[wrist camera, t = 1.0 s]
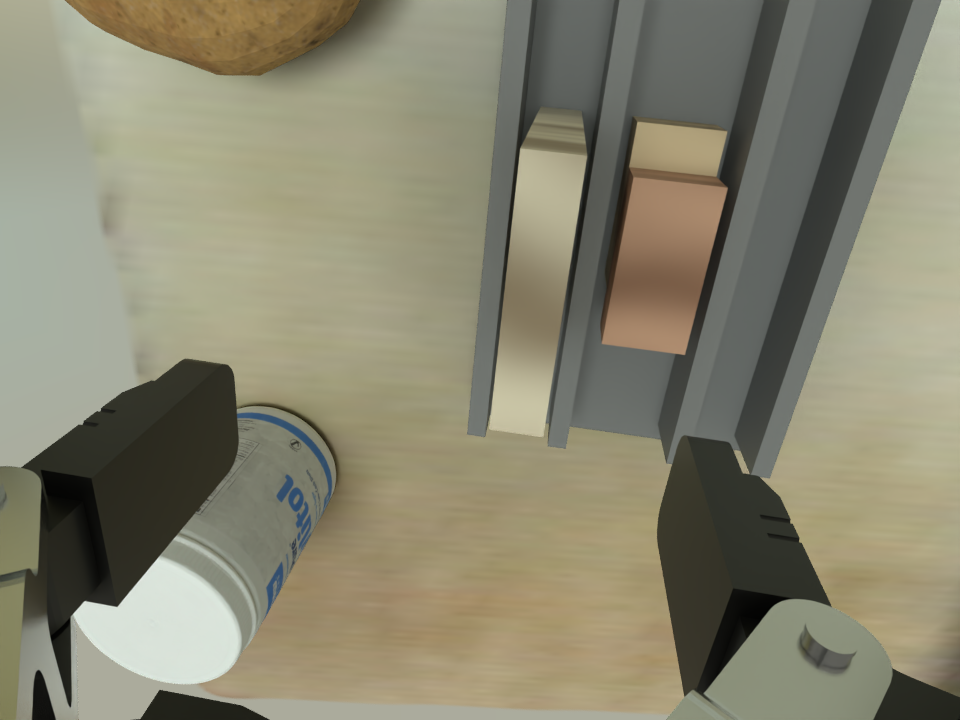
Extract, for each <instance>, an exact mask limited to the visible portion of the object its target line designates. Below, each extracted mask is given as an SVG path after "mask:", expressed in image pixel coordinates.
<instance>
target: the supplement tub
mask: <svg viewBox="0 0 960 720" xmlns="http://www.w3.org/2000/svg"><path fill="white" fill-rule="evenodd" d="M237 421H238V434H239V445H238V451H237V456H236V459H235V462H234V464H233V466H232V468H231V470H230V472H229V473H228V474H227V475H226V477H225V478H224V479H223V480H222V481H221V483H220V484H219V485H218V486H217V487H216V489H215V490H214V491H213V492H212V494H211V495H210V496H209V497H208V498H207V500H206V501H205V502H204V503H203V504H202V506H201V507H200V508H199V509H198V510H197V512H196V513H195V514H194V515H193V516H192V518H191V519H190V520H189V521H188V522H187V524H186V525H185V526H184V527H183V528H182V530H181V531H180V532H179V533H178V534H177V536H176V537H175V538H174V539H173V541H172V542H171V543H170V544H169V545H168V547H167V548H166V549H165V550H164V551H163V553H162V554H161V555H160V556H159V557H158V559H157V560H156V561H155V562H154V563H153V565H152V566H151V567H150V568H149V569H148V571H147V572H146V573H145V574H144V575H143V577H142V578H141V579H140V580H139V581H138V583H137V584H136V585H135V586H134V588H133V589H132V590H131V591H130V592H129V594H128V595H127V596H126V597H125V598H124V600H123V601H122V602H121V603H120V604H119V606H118V607H114V606H108V605H103V604H97V603H92V602H87V601H84V602H83V604H82V605H81V606H80V607H79V608H78V609H77V610H76V611H75V612H74V614H73V615H74V618H75V620H76V621H77V623H78V625H79V627H80V628H81V630H82V631H83V632H84V634H85V635H86V636H87V638H88V639H89V640H90V641H91V642H92V643H93V644H94V645H95V646H96V647H97V648H98V649H99V650H100V651H101V652H102V653H104V654H105V655H106V656H108V657H109V658H110V659H112V660H113V661H115V662H116V663H118V664H119V665H121V666H123V667H125V668H126V669H128V670H130V671H133V672H135V673H137V674H140V675H142V676H144V677H147V678H150V679H154V680H158V681H162V682H167V683H174V684H196V683H203V682H207V681H210V680H213V679H216V678H218V677H220V676H221V675H223V674H224V673H226V672H227V671H228V670H229V669H231V667H232V666H233V665H234V664H235V663H236V661H237V660H238V658H239V657H240V655H241V653H242V652H243V650H244V649H245V648H246V647H247V646H248V645H249V643H250V642H251V640H252V639H253V637H254V636H255V634H256V632H257V631H258V629H259V627H260V625H261V624H262V622H263V620H264V619H265V617H266V615H267V613H268V612H269V610H270V608H271V606H272V604H273V603H274V601H275V599H276V597H277V595H278V594H279V592H280V590H281V588H282V586H283V585H284V583H285V581H286V579H287V577H288V575H289V574H290V572H291V570H292V568H293V566H294V565H295V563H296V561H297V559H298V557H299V556H300V554H301V552H302V550H303V548H304V546H305V545H306V543H307V541H308V539H309V537H310V536H311V534H312V532H313V530H314V528H315V527H316V525H317V523H318V521H319V519H320V518H321V516H322V514H323V512H324V510H325V508H326V507H327V505H328V502H329V501H330V499H331V497H332V495H333V492H334V489H335V483H336V468H335V463H334V459H333V457H332V454H331V452H330V450H329V448H328V447H327V445H326V444H325V442H324V441H323V439H322V438H321V437H320V436H319V434H318V433H317V432H316V431H315V430H314V429H313V428H312V427H311V426H309V425H308V424H307V423H306V422H304V421H303V420H301V419H300V418H298V417H297V416H295V415H293V414H290V413H288V412H285V411H283V410H280V409H276V408H271V407H265V406H250V407H244V408H240V409H237Z"/></svg>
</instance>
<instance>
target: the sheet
mask: <svg viewBox="0 0 960 720" xmlns="http://www.w3.org/2000/svg"><path fill="white" fill-rule="evenodd" d="M586 161H587V150H586V142H585V134H584V126H583V118H582V111H579V110H570V109H560V108H551V107H540V109H539V111H538V113H537V116H536V118H535V120H534V122H533V124H532V126H531V128H530V130H529V132H528V134H527V136H526V138H525V140H524V142H523V144H522V146H521V148H520V155H519V165H518V174H517V183H516V192H515V201H514V210H513V219H512V228H511V237H510V246H509V255H508V264H507V273H506V282H505V291H504V300H503V309H502V318H501V327H500V336H499V345H498V355H497V364H496V373H495V382H494V391H493V400H492V409H491V418H490V427H489V430H496V431H503V432H510V433H517V434H524V435H531V436H537V437H543V435H544V429H545V423H546V416H547V410H548V404H549V397H550V391H551V384H552V378H553V372H554V365H555V359H556V352H557V346H558V340H559V333H560V327H561V321H562V314H563V308H564V301H565V295H566V289H567V282H568V276H569V269H570V263H571V257H572V250H573V244H574V238H575V231H576V225H577V218H578V212H579V206H580V199H581V193H582V186H583V180H584V174H585V167H586Z"/></svg>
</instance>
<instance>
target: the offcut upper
mask: <svg viewBox="0 0 960 720" xmlns="http://www.w3.org/2000/svg"><path fill="white" fill-rule="evenodd" d="M727 189H728V187H727V186H726V185H724V184H723V183H722V182H721V181H720V180H719V179H718V178H717V177H714V176H705V175H696V174H687V173H678V172H669V171H660V170H651V169H642V168H633V167H629V171H628V176H627V181H626V187H625V192H624V197H623V203H622V208H621V214H620V219H619V224H618V230H617V235H616V240H615V246H614V251H613V256H612V262H611V267H610V273H609V278H608V283H607V289H606V294H605V299H604V305H603V310H602V315H601V321H600V330H601V340H602V344H606V345H614V346H622V347H629V348H637V349H644V350H652V351H659V352H667V353H674V354H682V355H685V352H686V349H687V345H688V341H689V337H690V333H691V329H692V325H693V321H694V318H695V314H696V310H697V306H698V302H699V298H700V294H701V290H702V286H703V283H704V279H705V275H706V271H707V267H708V263H709V259H710V255H711V252H712V248H713V244H714V240H715V236H716V232H717V228H718V224H719V221H720V217H721V213H722V209H723V205H724V201H725V197H726V193H727Z"/></svg>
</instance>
